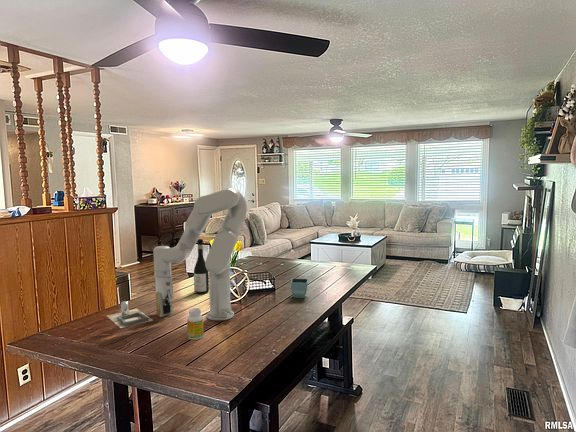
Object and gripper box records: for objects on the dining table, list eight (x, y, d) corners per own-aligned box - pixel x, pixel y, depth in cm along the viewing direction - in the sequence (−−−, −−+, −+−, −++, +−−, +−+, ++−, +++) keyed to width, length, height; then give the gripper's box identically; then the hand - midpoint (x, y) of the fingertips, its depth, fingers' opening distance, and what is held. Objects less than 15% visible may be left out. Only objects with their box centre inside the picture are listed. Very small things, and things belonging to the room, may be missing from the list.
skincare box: (168, 314, 188) (167, 289, 187) (173, 316, 185) (172, 291, 184) (156, 317, 184) (154, 292, 182) (160, 320, 181) (159, 293, 179)
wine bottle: (205, 294, 218) (203, 240, 215) (192, 294, 220) (190, 240, 217) (211, 290, 226) (209, 238, 223) (198, 289, 228) (196, 238, 225)
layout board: (153, 323, 177) (153, 316, 177) (120, 331, 168) (120, 324, 167) (137, 311, 192) (136, 305, 192) (106, 318, 183) (106, 312, 183)
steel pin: (129, 314, 184) (129, 302, 183) (122, 316, 182) (122, 303, 181) (127, 313, 186) (126, 300, 185) (120, 314, 184) (120, 301, 183)
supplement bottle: (195, 341, 157) (194, 313, 156) (184, 338, 161) (183, 310, 160) (206, 335, 163) (206, 309, 162) (195, 332, 166) (194, 306, 165)
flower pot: (308, 294, 217) (308, 278, 216) (307, 299, 209) (307, 282, 208) (292, 294, 218) (292, 278, 217) (290, 299, 209) (290, 282, 208)
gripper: (178, 275, 178) (180, 314, 180) (163, 268, 191) (164, 305, 193) (162, 278, 173) (164, 318, 175) (147, 271, 186) (149, 309, 188)
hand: (164, 311), depth 184 cm, fingers closed on skincare box, 4 cm apart
